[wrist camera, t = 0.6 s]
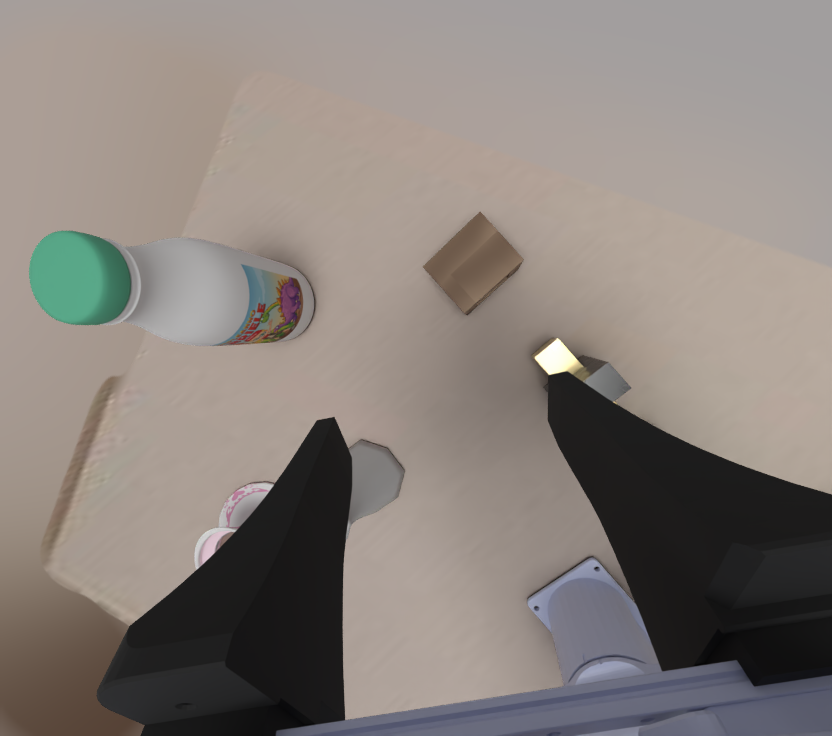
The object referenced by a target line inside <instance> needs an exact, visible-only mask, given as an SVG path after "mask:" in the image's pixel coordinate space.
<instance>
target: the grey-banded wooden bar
mask: <svg viewBox="0 0 832 736" xmlns="http://www.w3.org/2000/svg"><path fill="white" fill-rule="evenodd" d="M531 357H532V358H533V359H534V360H535V361H536V362H537V363H538V364H539V366H540V367H541V368H542V369H543V370H544V371H545V372H546V373H547V375H549V374H554V373H560V372H565V371H568V372H570V373H571V374H573V375H574V376H575V377H577V378H578V379H580V380H581V381H583V382H584V383H586V384H587V385H588V386H590V387H591V388H593V389H594V390H596V391H597V392H599V393H600V394H602V395H603V396H605V397H606V398H608V399H609V400H611V401H612V402H614V403H616V402H615V400H616V399H617V398H619V397H620V396H621V395H623V394H624V393H625V392H627V391H628V390H629V389H631V387H630V386H629V385H628V384H627V382H626V381H625V380H624V379H623V378H622V377H621V376H620V375H619V374H618V373H617V371H616V370H615V369H614V368H613V367H612V366H611V365H610V364H609V363H608V362H605V361H602V360H598V359H595V358H591V357H587V356H584V355H583V356H582V357H580V358H579V359H578V360H577V359H576V358H575V357H574V356H573V355H572V353H571V352H570V351H569V350H568V349H567V348H566V347H565V346H564V345H563V343H562V342H561V341H560V340H559V339H558V338H552V339H550V340H549V341H548V342H547V343H546V344H544V345H543V346H542V347H541V348H540V349H538V350H537V351H536V352H535V353H534V354H532V355H531ZM543 388H544V389H545V390H546V391H547V392H548V384H547V385H545V386H544V387H543ZM616 404H617V403H616ZM617 405H618V404H617Z"/></svg>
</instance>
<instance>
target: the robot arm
mask: <svg viewBox="0 0 832 736" xmlns="http://www.w3.org/2000/svg"><path fill="white" fill-rule="evenodd" d="M548 422H549V424H550V427H551V429H552V432H553V434H554V437H555V439H556V441H557V444H558V446H559V448H560V450H561V452H562V453H563V455H564V457H565V459H566V461H567V462H568V464H569V466H570V468H571V469H572V471H573V473H574V474H575V476H576V478H577V480H578V481H579V483H580V485H581V487H582V488H583V490H584V492H585V494H586V495H587V497H588V499H589V500H590V502H591V504H592V506H593V508H594V510H595V511H596V513H597V515H598V517H599V519H600V521H601V524H602V526H603V528H604V530H605V532H606V535H607V537H608V539H609V541H610V543H611V546H612V548H613V550H614V553H615V555H616V557H617V560H618V562H619V564H620V566H621V569H622V571H623V573H624V576H625V578H626V580H627V583H628V585H629V588H630V590H631V593H632V595H633V598H634V600H635V603H636V604H635V603H634V601H633V600H632V599H631V598H630V597H629V596H628V595H627V593H626V592H625V591H624V590H623V589H622V588H621V587H620V586H619V584H618V583H617V582H616V581H615V580H614V579H613V578H612V576H611V575H610V574H609V573H608V572H607V571H606V570H605V569H604V567H603V566H602V565H601V564H600V563H599V562H598V561H597V559H595V558H589V559H587V560H586V561H584V562H583V563H581V564H580V565H578V566H577V567H575V568H573V569H572V570H570V571H569V572H567V573H566V574H564V575H563V576H561V577H560V578H558V579H557V580H555V581H554V582H552V583H551V584H549V585H548V586H546V587H545V588H543V589H542V590H540V591H539V592H537V593H536V594H534V595H533V596H531V597H530V598H529V599H528V600H527V603H528V606H529V608H530V609H531V610H532V611H533V612H534V613H535V614H536V616H537V617H538V618H539V619H540V620H541V621H542V623H543V624H544V625H545V626H546V627H547V628H548V629H549V631H550V632H551V633H552V635H553V639H554V644H555V648H556V653H557V657H558V662H559V666H560V670H561V675H562V679H563V684H564V686H562V687H558V688H552V689H545V690H539V691H532V692H526V693H519V694H513V695H506V696H500V697H493V698H487V699H480V700H474V701H467V702H461V703H454V704H448V705H441V706H435V707H428V708H421V709H415V710H408V711H402V712H395V713H389V714H382V715H376V716H369V717H363V718H356V719H350V720H345V706H344V679H343V628H342V626H343V563H344V551H345V543H346V535H347V527H348V519H349V511H350V502H351V494H352V456H351V454H350V452H349V449H348V447H347V445H346V443H345V440H344V438H343V436H342V433H341V431H340V429H339V427H338V424H337V422H336V420H335V417H332V418H327V419H322V420H317V421H316V423H315V424H314V426H313V427H312V429H311V430H310V432H309V433H308V435H307V437H306V438H305V440H304V441H303V443H302V444H301V446H300V448H299V449H298V451H297V452H296V454H295V455H294V457H293V458H292V460H291V461H290V463H289V464H288V466H287V467H286V469H285V470H284V472H283V473H282V475H281V476H280V477H279V479H278V480H277V482H276V483H275V484H274V486H273V487H272V488H271V490H270V491H269V492H268V494H267V495H266V496H265V498H264V499H263V500H262V502H261V503H260V504H259V505H258V506H257V508H256V509H255V510H254V511H253V512H252V513H251V515H250V516H249V517H248V518H247V519H246V520H245V522H244V523H243V524H242V525H241V526H240V527H239V528H238V529H237V530H236V531H235V532H234V533H233V534H232V536H231V537H230V538H229V539H228V540H227V541H226V542H225V543H224V544H223V545H222V546H221V547H220V548H219V549H218V550H217V551H216V552H215V553H214V554H213V555H212V556H211V557H210V558H209V559H208V560H207V561H206V562H205V563H204V564H203V565H201V566H200V567H199V568H198V569H197V570H196V571H195V572H194V573H193V574H192V575H191V576H189V577H188V578H187V579H186V580H185V581H184V582H183V583H182V584H180V585H179V586H178V587H177V588H176V589H175V590H173V591H172V592H171V593H170V594H169V595H168V596H166V597H165V598H164V599H163V600H161V601H160V602H159V603H158V604H156V605H155V606H154V607H153V608H152V609H150V610H149V611H148V612H147V613H145V614H144V615H143V616H142V617H140V618H139V619H138V620H137V621H135V622H134V623H133V624H132V625H130V626H129V629H128V630H127V632H126V634H125V636H124V638H123V640H122V642H121V644H120V646H119V648H118V650H117V652H116V654H115V656H114V658H113V660H112V662H111V664H110V666H109V668H108V670H107V672H106V674H105V676H104V678H103V680H102V682H101V684H100V686H99V688H98V690H97V698H98V701H99V702H100V703H101V705H102V706H104V707H105V708H107V709H109V710H111V711H113V712H115V713H118V714H120V715H123V716H125V717H127V718H129V719H132V720H134V721H136V722H139V723H141V724H143V725H145V726H144V728H143V731H142V734H141V736H832V495H831V494H828V493H825V492H821V491H818V490H814V489H811V488H808V487H804V486H801V485H797V484H794V483H791V482H788V481H785V480H782V479H779V478H776V477H773V476H770V475H767V474H764V473H761V472H758V471H755V470H753V469H750V468H747V467H745V466H742V465H739V464H737V463H734V462H731V461H729V460H726V459H724V458H722V457H719V456H717V455H714V454H712V453H709V452H707V451H705V450H702V449H700V448H698V447H696V446H693V445H691V444H689V443H687V442H685V441H683V440H681V439H679V438H676V437H674V436H672V435H670V434H668V433H666V432H664V431H662V430H660V429H658V428H657V427H655V426H653V425H651V424H649V423H648V422H646V421H644V420H642V419H640V418H639V417H637V416H635V415H633V414H632V413H630V412H628V411H627V410H625V409H623V408H622V407H620V406H619V405H617V404H616V403H614V402H612V401H611V400H609V399H608V398H606V397H605V396H603V395H602V394H600V393H599V392H597V391H596V390H594V389H593V388H591V387H590V386H588V385H587V384H586V383H584V382H583V381H581V380H580V379H578V378H577V377H575V376H574V375H573V374H571V373H570V372H568V371H565V372H560V373H554V374H549V375H548ZM596 566H597V567H599V568H598V569H594V568H595V567H596ZM535 606H538V608H535Z"/></svg>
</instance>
